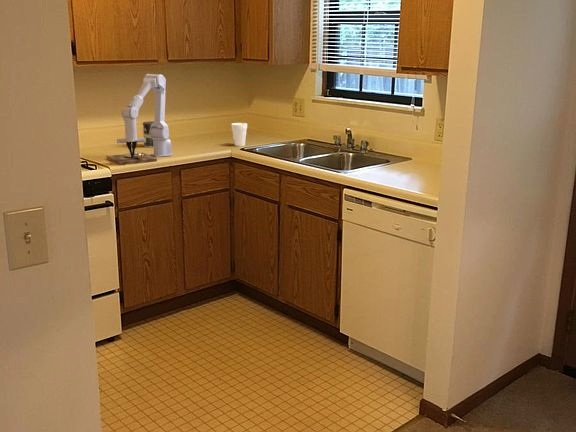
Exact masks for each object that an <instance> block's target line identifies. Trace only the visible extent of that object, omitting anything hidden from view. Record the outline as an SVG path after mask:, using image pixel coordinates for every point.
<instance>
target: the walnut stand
mask: <svg viewBox="0 0 576 432" xmlns="http://www.w3.org/2000/svg"><path fill="white" fill-rule="evenodd" d="M143 153H144V152H143ZM125 154H126V153H124V154H114V155H107V156H106V159H107V160H109V161H111V162H112V163H115V164H117V165H119V166H125V164H128V165H136V164H145V163H152V162H153V163H154V162H158V159H157V158H158V157H155V156H153V155H151V154H150V155H149V154H148V153H144V156H143V154H141V159H137V158H128V157H125Z"/></svg>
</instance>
